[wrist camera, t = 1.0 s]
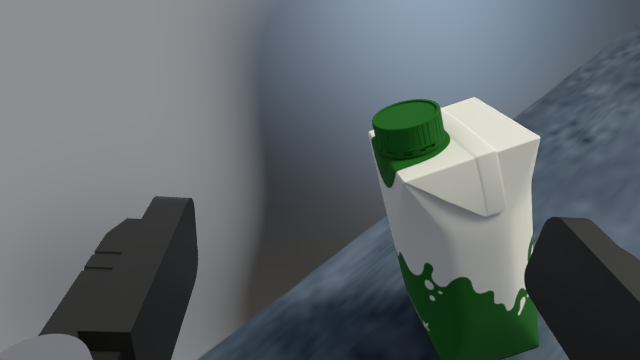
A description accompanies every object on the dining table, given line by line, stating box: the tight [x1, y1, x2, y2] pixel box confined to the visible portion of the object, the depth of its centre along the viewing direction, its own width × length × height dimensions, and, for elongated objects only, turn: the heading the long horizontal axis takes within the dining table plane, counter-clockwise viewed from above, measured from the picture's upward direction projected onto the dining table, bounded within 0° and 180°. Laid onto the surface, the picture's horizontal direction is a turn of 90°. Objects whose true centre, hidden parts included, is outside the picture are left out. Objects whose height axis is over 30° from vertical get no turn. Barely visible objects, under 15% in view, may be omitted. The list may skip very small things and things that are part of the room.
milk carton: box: [368, 97, 540, 360], centre depth 29 cm, size 9×9×20 cm
